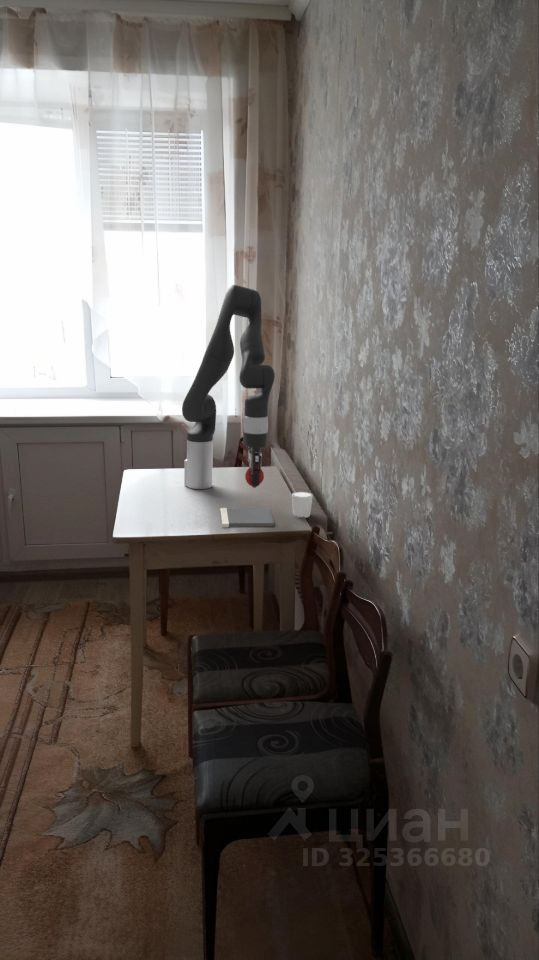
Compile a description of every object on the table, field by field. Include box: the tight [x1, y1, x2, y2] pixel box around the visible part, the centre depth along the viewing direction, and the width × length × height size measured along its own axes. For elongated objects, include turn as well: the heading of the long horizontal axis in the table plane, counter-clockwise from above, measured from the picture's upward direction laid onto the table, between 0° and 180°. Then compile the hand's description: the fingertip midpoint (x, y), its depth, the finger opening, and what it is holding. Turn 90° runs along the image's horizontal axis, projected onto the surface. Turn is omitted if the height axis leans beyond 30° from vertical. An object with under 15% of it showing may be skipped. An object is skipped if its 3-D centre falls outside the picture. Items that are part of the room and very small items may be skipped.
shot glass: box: [291, 491, 314, 519], centre depth 242 cm, size 7×7×7 cm
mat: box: [219, 507, 275, 528], centre depth 237 cm, size 16×16×1 cm
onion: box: [244, 467, 265, 489], centre depth 233 cm, size 6×6×8 cm
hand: (254, 482), depth 234 cm, fingers closed on onion, 6 cm apart
